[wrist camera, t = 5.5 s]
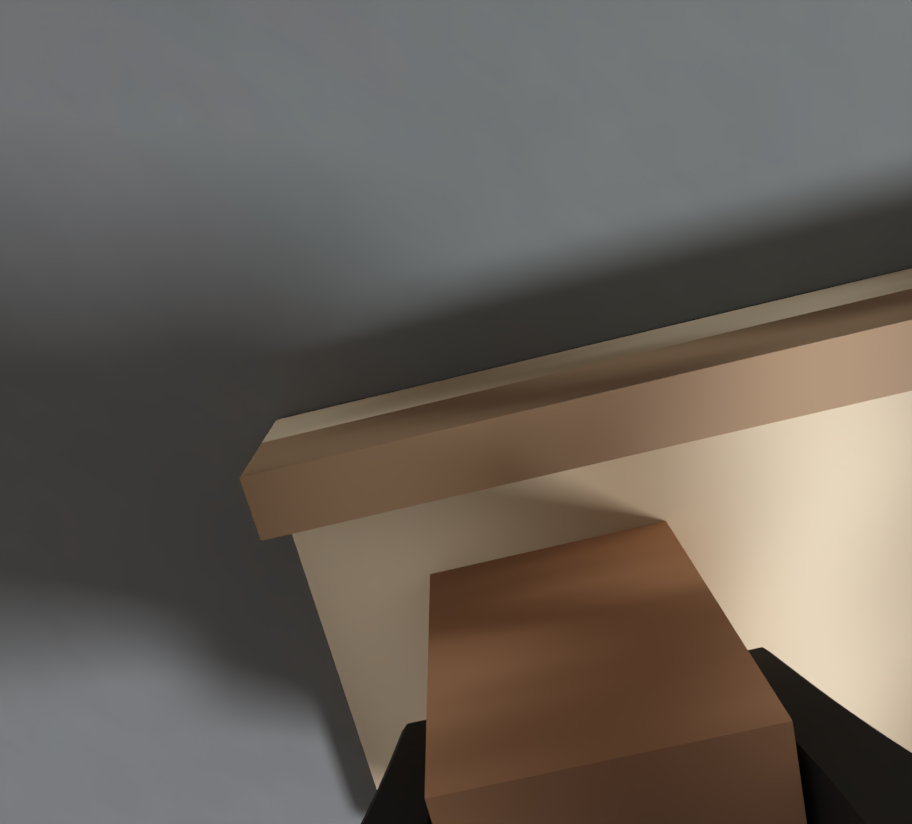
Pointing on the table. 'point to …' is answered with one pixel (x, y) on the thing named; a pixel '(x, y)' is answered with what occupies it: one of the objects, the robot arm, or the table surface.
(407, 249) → the table surface
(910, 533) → the board
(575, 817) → the brown wooden block
